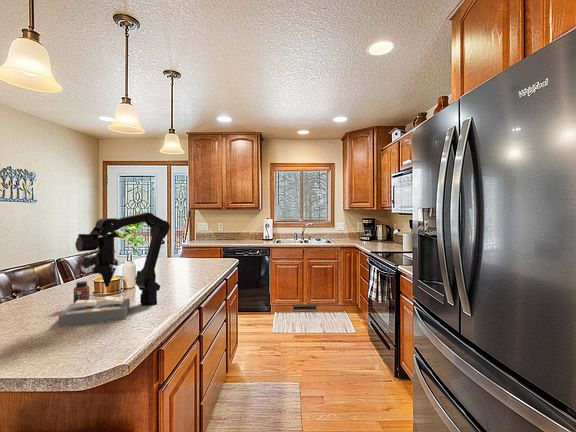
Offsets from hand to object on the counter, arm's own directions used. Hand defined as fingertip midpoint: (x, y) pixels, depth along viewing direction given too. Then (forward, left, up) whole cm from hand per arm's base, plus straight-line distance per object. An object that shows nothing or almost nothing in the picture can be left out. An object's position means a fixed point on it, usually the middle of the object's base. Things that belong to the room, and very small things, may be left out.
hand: (107, 286), depth 126 cm
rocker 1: (+7, 0, -6) cm, 10 cm away
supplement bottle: (+12, -17, -12) cm, 24 cm away
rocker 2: (-3, 0, -6) cm, 7 cm away
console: (+3, 0, -12) cm, 12 cm away
